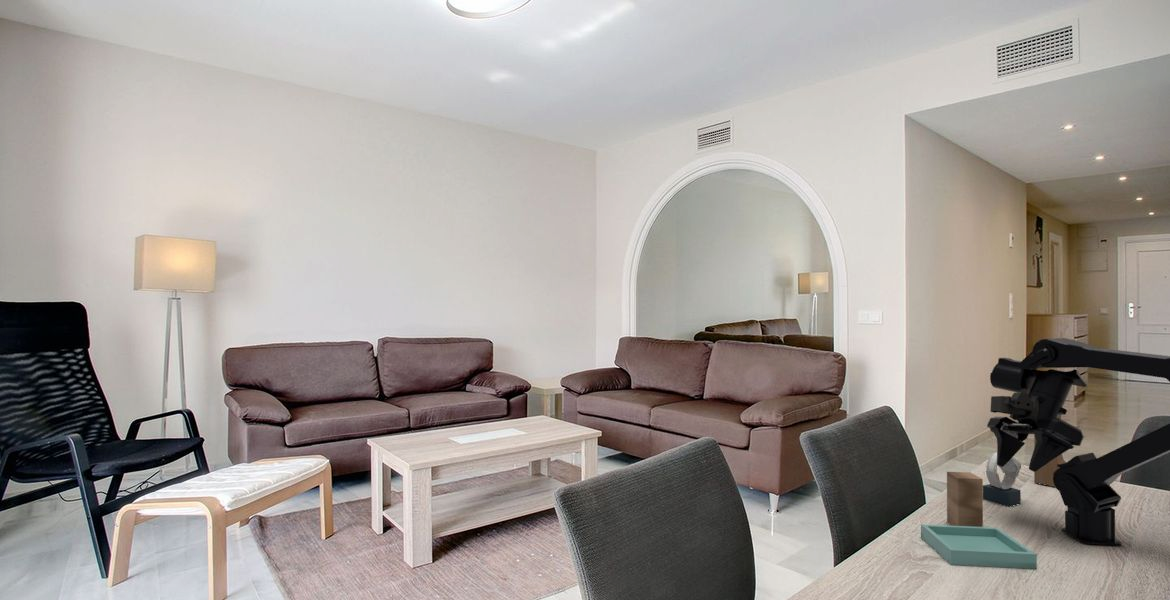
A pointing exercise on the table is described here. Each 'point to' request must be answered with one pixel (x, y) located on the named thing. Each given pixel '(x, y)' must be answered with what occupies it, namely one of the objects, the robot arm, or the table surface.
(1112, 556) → the table surface
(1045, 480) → the wooden block
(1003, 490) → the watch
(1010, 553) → the tray
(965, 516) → the tall brown wood pillar
